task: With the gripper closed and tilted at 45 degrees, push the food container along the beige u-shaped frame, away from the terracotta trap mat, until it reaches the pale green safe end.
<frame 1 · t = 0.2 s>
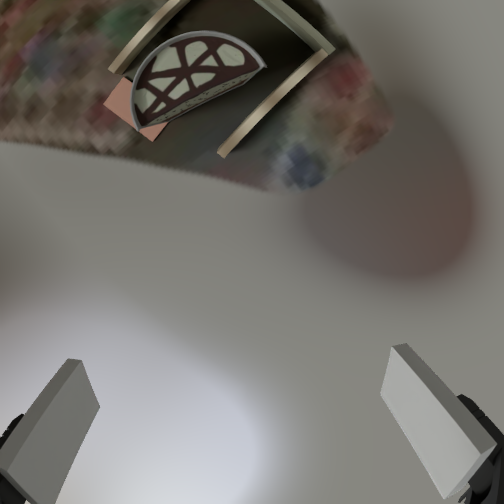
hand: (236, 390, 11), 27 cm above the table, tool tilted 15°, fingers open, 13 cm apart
trap mat: (138, 108, 28), on the table
food container: (194, 79, 28), on the table, touching trap mat
beige u-shaped frame: (218, 54, 26), on the table
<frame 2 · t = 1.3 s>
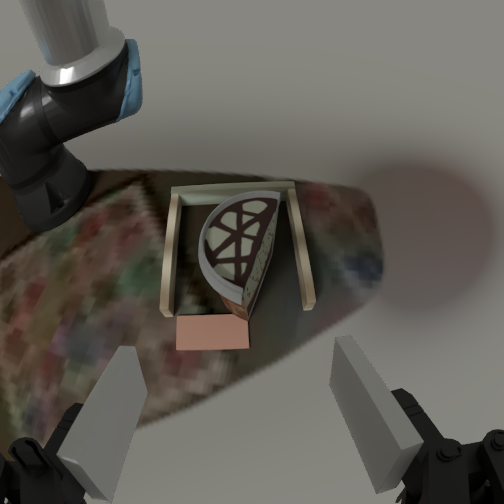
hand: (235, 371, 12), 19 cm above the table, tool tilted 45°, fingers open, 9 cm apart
trap mat: (212, 332, 32), on the table
food container: (236, 279, 35), on the table, touching trap mat
beige u-shaped frame: (235, 250, 37), on the table
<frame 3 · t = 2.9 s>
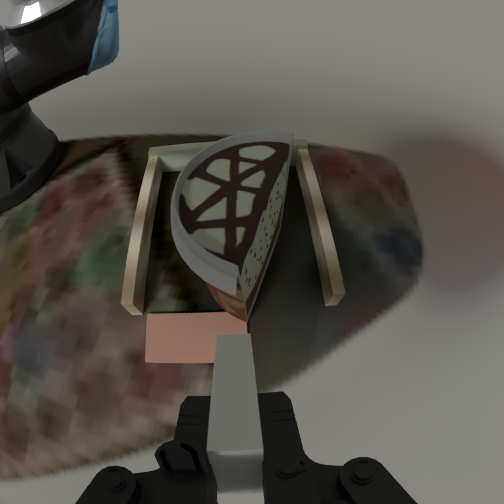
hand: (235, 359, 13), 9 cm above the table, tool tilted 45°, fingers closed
trap mat: (195, 338, 22), on the table
food container: (231, 263, 25), on the table, touching trap mat
beige u-shaped frame: (229, 225, 27), on the table
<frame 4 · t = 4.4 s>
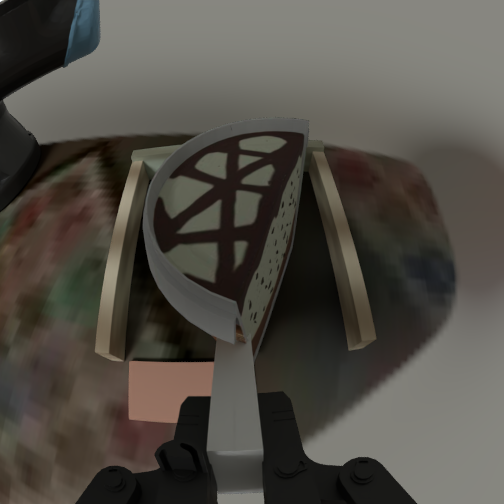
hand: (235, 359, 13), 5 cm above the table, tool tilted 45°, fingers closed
trap mat: (189, 393, 16), on the table
food container: (232, 289, 20), on the table, touching gripper
beige u-shaped frame: (230, 247, 22), on the table
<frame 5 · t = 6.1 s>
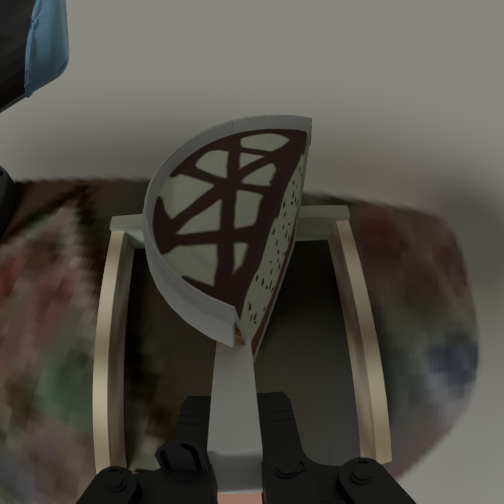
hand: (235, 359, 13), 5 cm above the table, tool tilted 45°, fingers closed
trap mat: (197, 503, 12), on the table
food container: (233, 287, 20), on the table, touching gripper, beige u-shaped frame
beige u-shaped frame: (234, 351, 18), on the table
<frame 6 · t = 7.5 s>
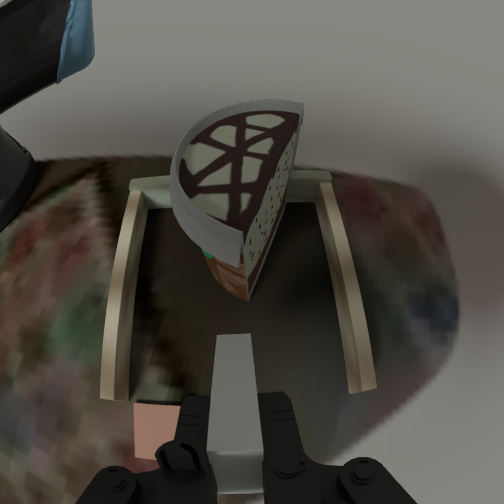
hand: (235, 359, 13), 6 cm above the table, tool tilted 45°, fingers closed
trap mat: (193, 434, 16), on the table
food container: (232, 240, 24), on the table
beige u-shaped frame: (232, 288, 21), on the table
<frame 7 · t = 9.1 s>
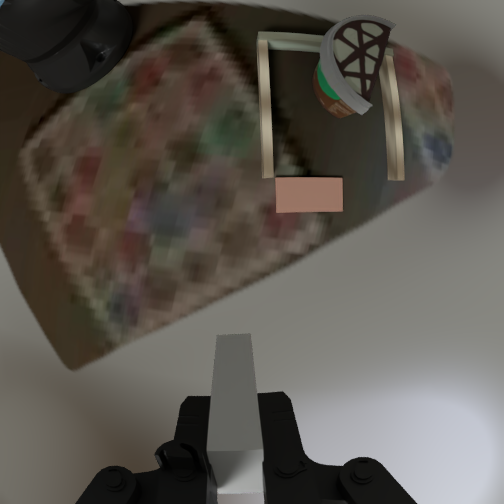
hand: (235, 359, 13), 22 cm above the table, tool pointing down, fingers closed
trap mat: (309, 194, 33), on the table
food container: (327, 78, 30), on the table
beige u-shaped frame: (330, 109, 31), on the table
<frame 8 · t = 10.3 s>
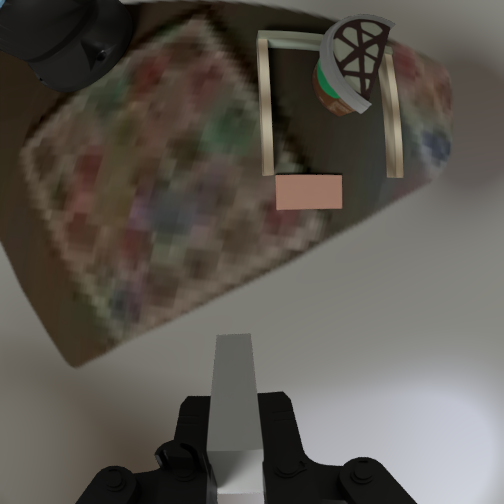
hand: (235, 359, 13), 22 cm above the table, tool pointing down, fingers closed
trap mat: (309, 191, 33), on the table
food container: (327, 76, 30), on the table
beige u-shaped frame: (329, 107, 31), on the table
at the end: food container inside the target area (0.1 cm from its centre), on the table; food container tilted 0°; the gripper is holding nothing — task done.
